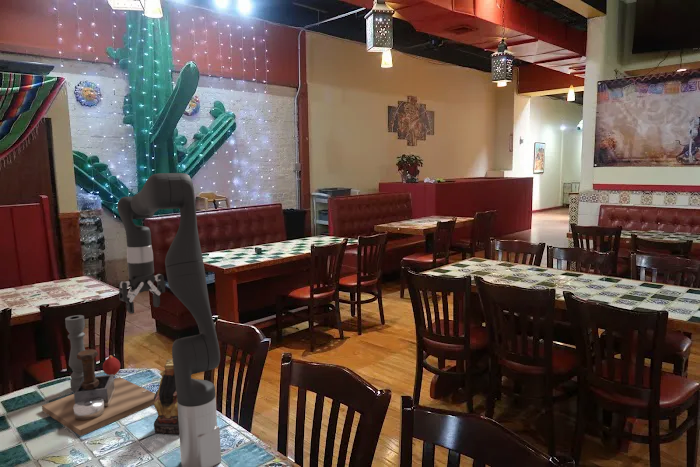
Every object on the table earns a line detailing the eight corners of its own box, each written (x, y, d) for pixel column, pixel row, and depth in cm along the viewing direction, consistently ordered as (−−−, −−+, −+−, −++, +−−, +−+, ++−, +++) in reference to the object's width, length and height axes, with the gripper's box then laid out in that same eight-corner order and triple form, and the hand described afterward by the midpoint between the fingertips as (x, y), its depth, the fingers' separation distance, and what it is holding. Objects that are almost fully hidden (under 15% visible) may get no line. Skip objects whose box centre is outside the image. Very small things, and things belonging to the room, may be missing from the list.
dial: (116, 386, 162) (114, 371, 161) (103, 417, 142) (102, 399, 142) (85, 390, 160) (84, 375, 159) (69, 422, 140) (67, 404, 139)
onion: (103, 374, 177) (102, 353, 176) (121, 371, 180) (119, 351, 178) (103, 380, 172) (101, 359, 171) (121, 377, 174) (119, 356, 173)
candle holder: (67, 389, 166) (60, 318, 162) (84, 382, 171) (77, 313, 168) (78, 392, 163) (71, 321, 159) (95, 385, 168) (89, 316, 165)
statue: (149, 434, 137) (144, 367, 134) (166, 420, 145) (161, 356, 142) (187, 438, 134) (182, 370, 132) (203, 424, 142) (198, 358, 139)
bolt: (104, 396, 153) (100, 351, 151) (88, 403, 149) (83, 356, 147) (94, 392, 156) (90, 347, 154) (78, 398, 152) (74, 352, 150)
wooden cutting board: (160, 401, 156) (160, 395, 156) (80, 436, 136) (80, 429, 136) (119, 381, 171) (119, 376, 171) (42, 411, 151) (41, 405, 151)
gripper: (125, 265, 144) (129, 317, 146) (167, 257, 155) (170, 306, 157) (111, 262, 148) (116, 313, 150) (154, 255, 159) (157, 302, 161)
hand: (144, 309), depth 154 cm, fingers open, 8 cm apart
